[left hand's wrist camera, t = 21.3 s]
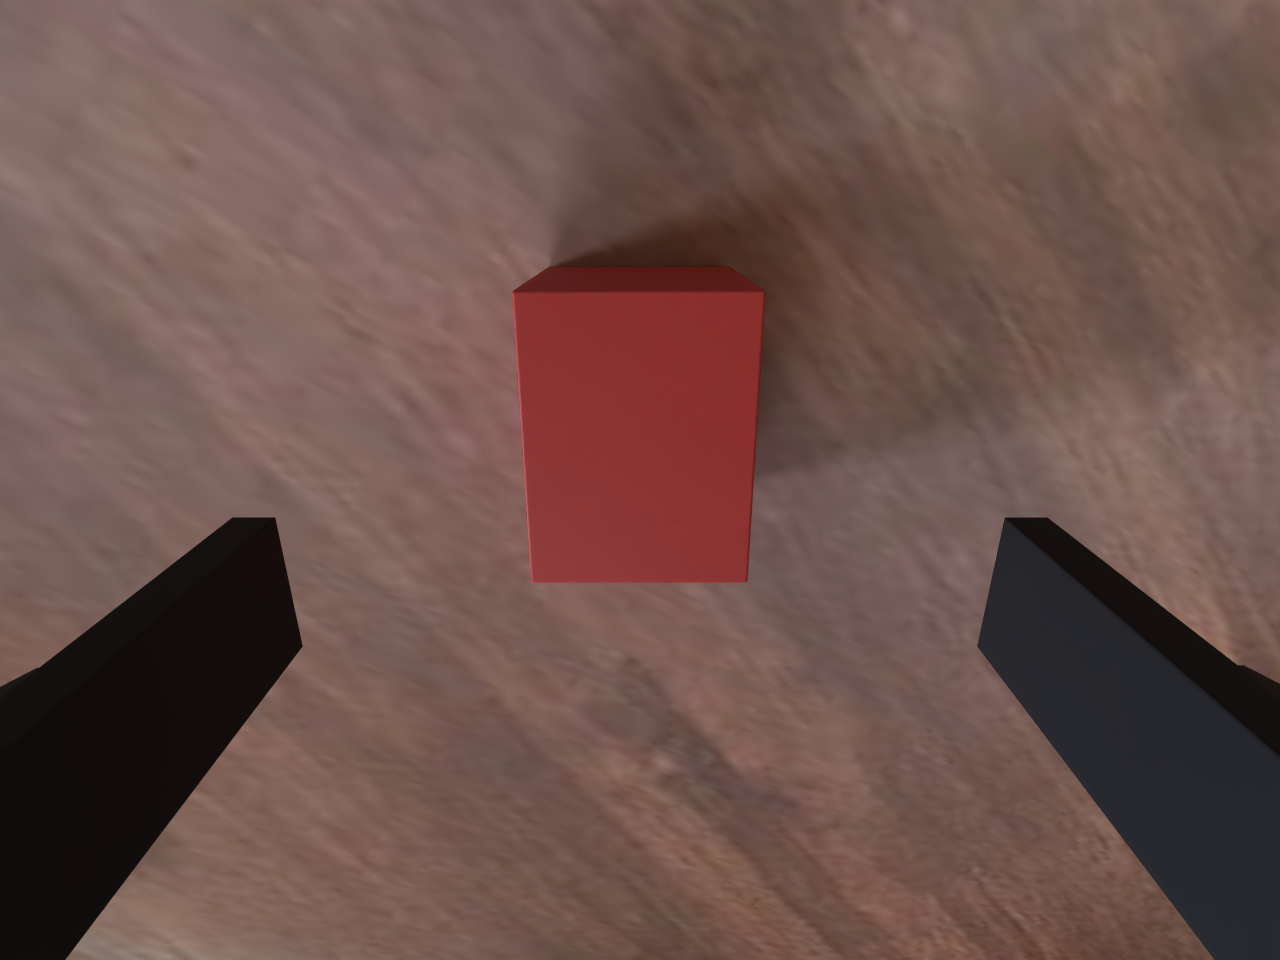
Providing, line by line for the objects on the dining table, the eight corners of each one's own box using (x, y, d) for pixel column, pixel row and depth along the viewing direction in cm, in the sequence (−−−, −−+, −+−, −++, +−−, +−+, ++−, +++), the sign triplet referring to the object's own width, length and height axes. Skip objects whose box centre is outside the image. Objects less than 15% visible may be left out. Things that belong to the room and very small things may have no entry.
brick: (547, 266, 26) (511, 290, 18) (730, 266, 26) (766, 290, 18) (558, 489, 29) (530, 583, 22) (721, 489, 29) (747, 583, 22)
